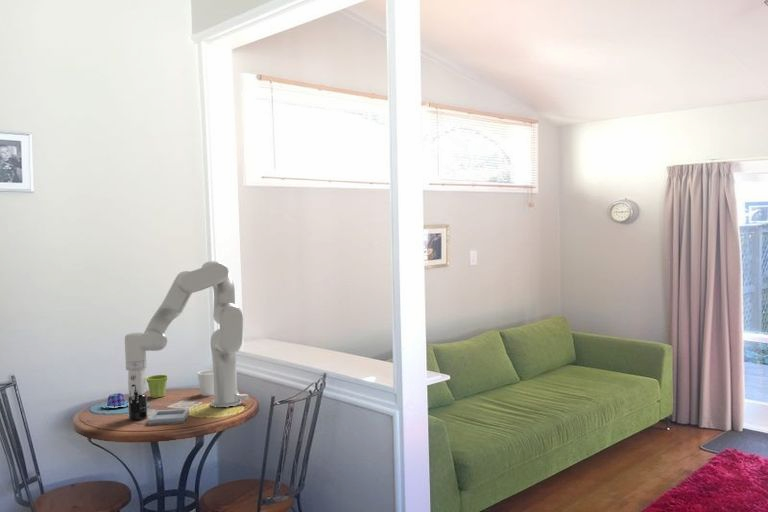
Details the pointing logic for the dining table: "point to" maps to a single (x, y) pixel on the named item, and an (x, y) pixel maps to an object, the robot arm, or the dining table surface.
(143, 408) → the supplement bottle
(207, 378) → the dixie cup
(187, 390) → the dining table surface
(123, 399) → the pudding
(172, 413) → the tray
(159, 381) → the plant pot
